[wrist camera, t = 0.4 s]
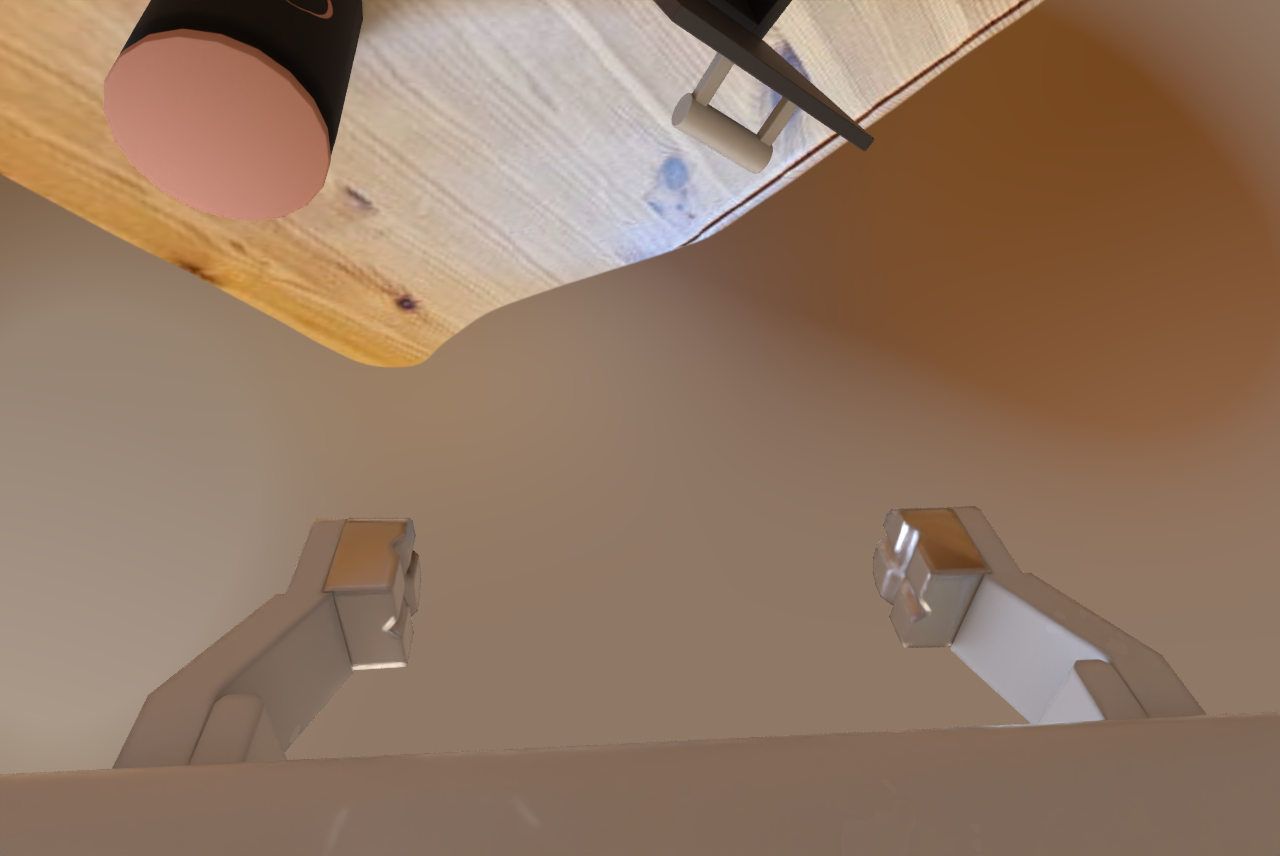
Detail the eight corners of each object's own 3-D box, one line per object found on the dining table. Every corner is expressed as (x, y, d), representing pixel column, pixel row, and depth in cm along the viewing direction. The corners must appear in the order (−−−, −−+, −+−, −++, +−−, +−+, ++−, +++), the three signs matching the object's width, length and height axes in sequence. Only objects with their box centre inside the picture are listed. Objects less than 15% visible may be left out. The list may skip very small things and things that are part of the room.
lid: (680, 4, 31) (621, 106, 33) (875, 139, 36) (814, 218, 39) (605, -73, 42) (565, 8, 44) (764, 41, 47) (721, 107, 50)
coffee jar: (372, -73, 49) (336, 73, 38) (357, 81, 57) (324, 239, 46) (182, -137, 46) (84, 5, 35) (194, 37, 53) (117, 197, 42)
